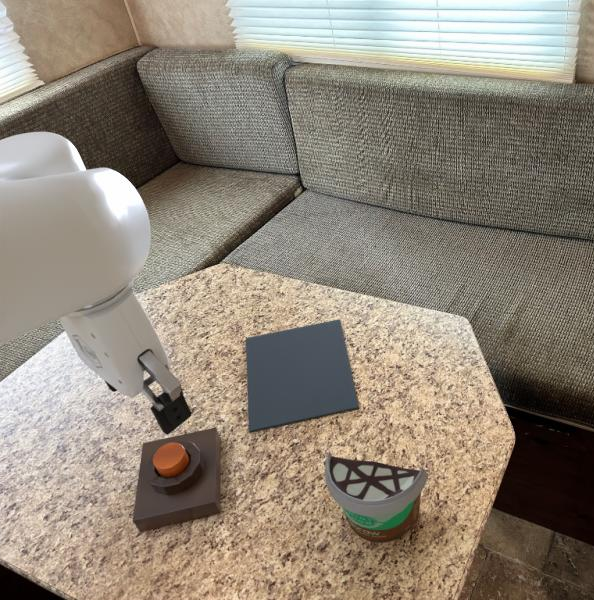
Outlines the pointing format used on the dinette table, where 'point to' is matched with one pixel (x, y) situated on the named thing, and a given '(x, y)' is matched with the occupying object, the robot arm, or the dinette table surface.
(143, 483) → the button box
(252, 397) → the mat
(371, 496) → the food container
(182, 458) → the button
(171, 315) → the dinette table surface
